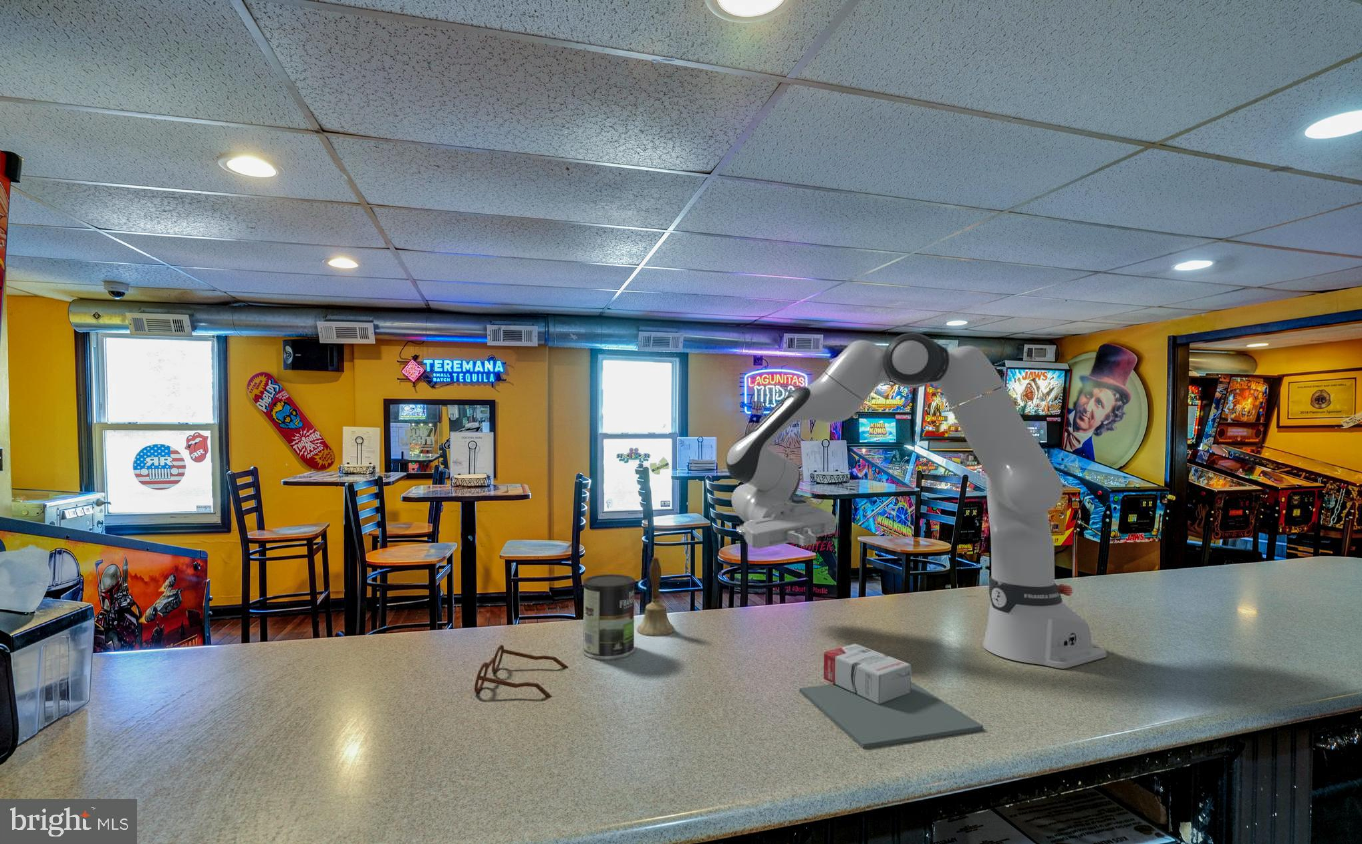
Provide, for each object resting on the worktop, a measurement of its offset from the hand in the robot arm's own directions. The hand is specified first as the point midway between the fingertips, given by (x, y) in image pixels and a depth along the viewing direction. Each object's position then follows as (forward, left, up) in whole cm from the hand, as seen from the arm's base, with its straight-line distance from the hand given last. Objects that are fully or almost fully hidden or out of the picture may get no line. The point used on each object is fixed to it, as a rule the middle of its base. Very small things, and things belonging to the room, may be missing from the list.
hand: (809, 541), depth 120 cm
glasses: (+55, 0, -23) cm, 60 cm away
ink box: (+1, +14, -19) cm, 23 cm away
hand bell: (+27, -21, -22) cm, 40 cm away
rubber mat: (+1, +26, -22) cm, 34 cm away
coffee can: (+39, -11, -22) cm, 46 cm away
